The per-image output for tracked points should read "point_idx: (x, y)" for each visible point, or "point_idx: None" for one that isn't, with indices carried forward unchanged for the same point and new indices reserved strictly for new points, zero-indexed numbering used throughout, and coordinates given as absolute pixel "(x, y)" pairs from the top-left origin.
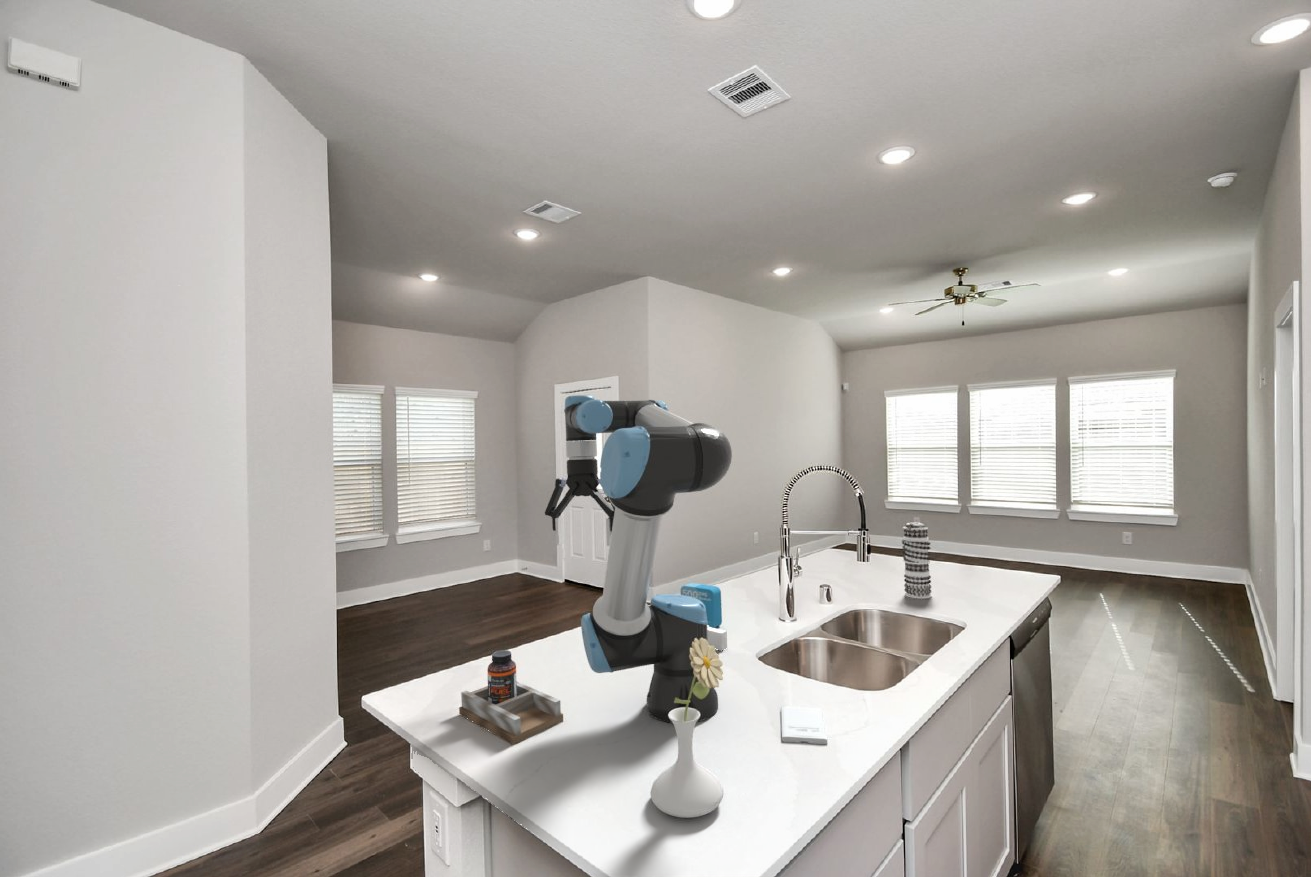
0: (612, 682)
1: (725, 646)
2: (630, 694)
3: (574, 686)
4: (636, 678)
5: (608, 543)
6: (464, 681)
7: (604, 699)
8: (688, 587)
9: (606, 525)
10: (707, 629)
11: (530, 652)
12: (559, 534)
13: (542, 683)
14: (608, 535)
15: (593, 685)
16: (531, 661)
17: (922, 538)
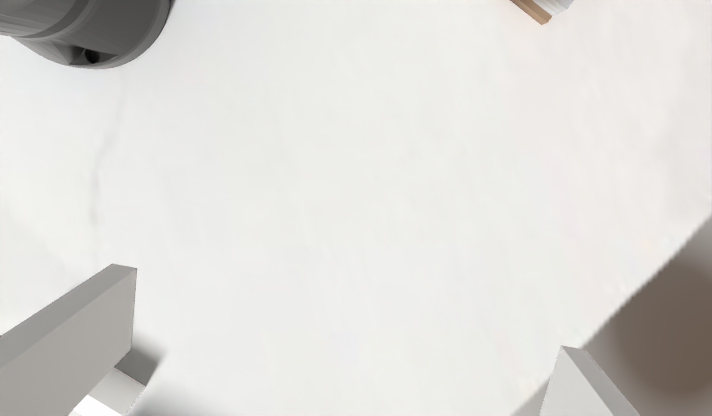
0: (289, 119)
1: None
2: (228, 48)
3: (381, 90)
4: (235, 146)
5: (112, 273)
6: (688, 108)
7: (285, 15)
8: None
9: (12, 356)
10: None
11: (559, 309)
12: (593, 413)
13: (470, 105)
14: (68, 301)
15: (333, 98)
16: (539, 248)
17: None
